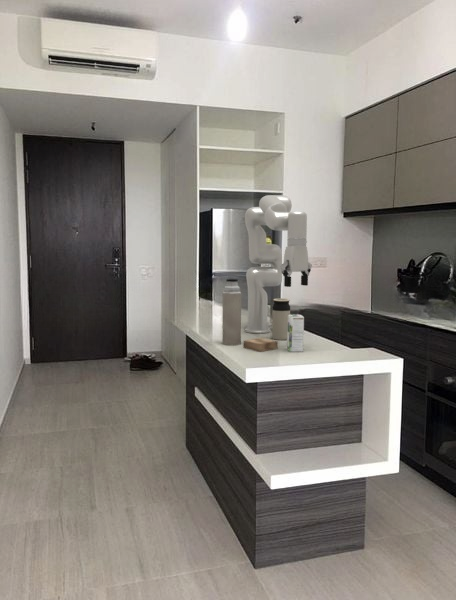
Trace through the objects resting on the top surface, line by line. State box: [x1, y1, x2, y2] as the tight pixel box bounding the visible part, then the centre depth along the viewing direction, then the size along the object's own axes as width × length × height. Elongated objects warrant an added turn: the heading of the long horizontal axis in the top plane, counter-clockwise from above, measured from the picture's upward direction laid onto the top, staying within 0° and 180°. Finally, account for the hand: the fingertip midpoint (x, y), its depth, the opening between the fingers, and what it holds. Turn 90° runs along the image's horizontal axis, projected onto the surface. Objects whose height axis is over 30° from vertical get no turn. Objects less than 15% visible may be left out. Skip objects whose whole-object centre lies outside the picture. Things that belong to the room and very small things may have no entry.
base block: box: [242, 337, 279, 353], centre depth 221 cm, size 10×10×3 cm
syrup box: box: [286, 313, 305, 353], centre depth 216 cm, size 6×6×14 cm
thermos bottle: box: [222, 278, 242, 346], centre depth 229 cm, size 8×8×28 cm
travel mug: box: [271, 298, 291, 341], centre depth 242 cm, size 8×8×18 cm
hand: (296, 285), depth 214 cm, fingers open, 9 cm apart
